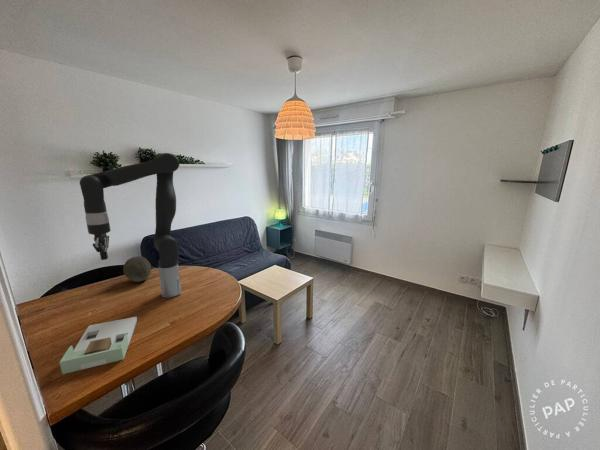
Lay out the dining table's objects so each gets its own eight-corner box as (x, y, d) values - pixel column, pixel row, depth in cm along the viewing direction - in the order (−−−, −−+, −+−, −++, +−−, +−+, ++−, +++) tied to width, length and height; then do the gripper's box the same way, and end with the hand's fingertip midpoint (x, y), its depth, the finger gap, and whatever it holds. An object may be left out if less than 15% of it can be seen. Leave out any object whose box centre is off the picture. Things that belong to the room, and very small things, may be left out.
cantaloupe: (157, 275, 150) (154, 253, 146) (144, 286, 136) (140, 262, 132) (134, 275, 149) (131, 253, 145) (118, 286, 135) (114, 262, 131)
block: (111, 343, 90) (110, 337, 90) (106, 355, 85) (105, 348, 84) (91, 348, 88) (90, 341, 87) (85, 360, 83) (84, 353, 82)
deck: (137, 320, 107) (135, 310, 106) (123, 359, 86) (121, 347, 85) (89, 329, 100) (87, 319, 99) (62, 374, 79) (59, 362, 78)
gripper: (103, 225, 98) (110, 263, 102) (113, 218, 109) (118, 253, 114) (80, 226, 95) (88, 265, 99) (92, 219, 106) (99, 254, 111)
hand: (104, 259), depth 106 cm, fingers closed
